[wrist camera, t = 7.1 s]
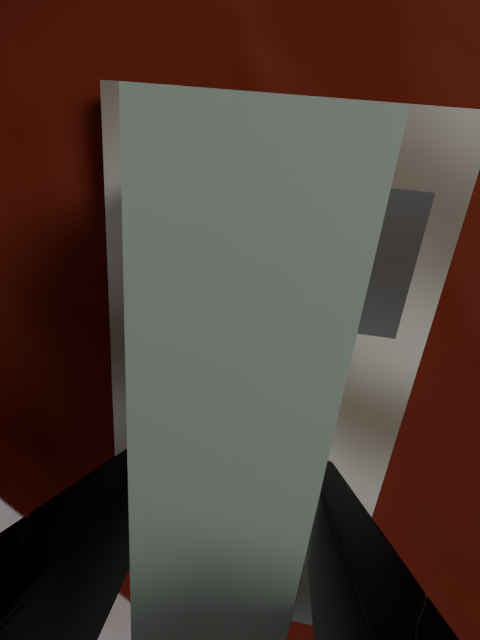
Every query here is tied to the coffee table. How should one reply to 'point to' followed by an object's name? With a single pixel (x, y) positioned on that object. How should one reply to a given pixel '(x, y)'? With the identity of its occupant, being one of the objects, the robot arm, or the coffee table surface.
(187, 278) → the cabinet door
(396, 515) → the coffee table surface
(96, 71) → the coffee table surface
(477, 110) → the cabinet panel
